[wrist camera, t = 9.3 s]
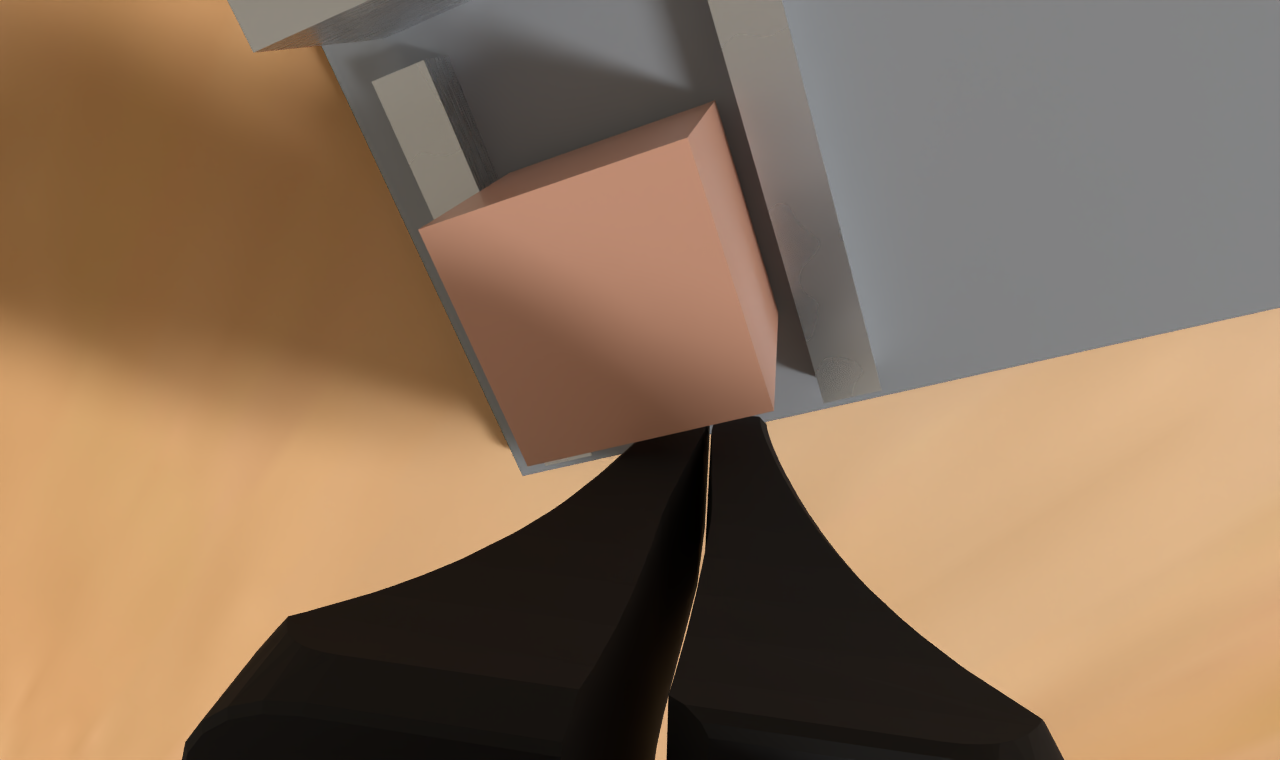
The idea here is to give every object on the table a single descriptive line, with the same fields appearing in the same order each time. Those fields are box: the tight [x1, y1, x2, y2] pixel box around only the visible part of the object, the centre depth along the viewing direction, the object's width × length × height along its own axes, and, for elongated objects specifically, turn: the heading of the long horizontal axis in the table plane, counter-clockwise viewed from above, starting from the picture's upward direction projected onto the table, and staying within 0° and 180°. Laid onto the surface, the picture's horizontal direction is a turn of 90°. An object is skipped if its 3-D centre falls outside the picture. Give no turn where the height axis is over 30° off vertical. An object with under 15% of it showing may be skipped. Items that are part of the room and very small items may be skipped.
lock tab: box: [418, 100, 778, 466], centre depth 10 cm, size 3×3×3 cm
